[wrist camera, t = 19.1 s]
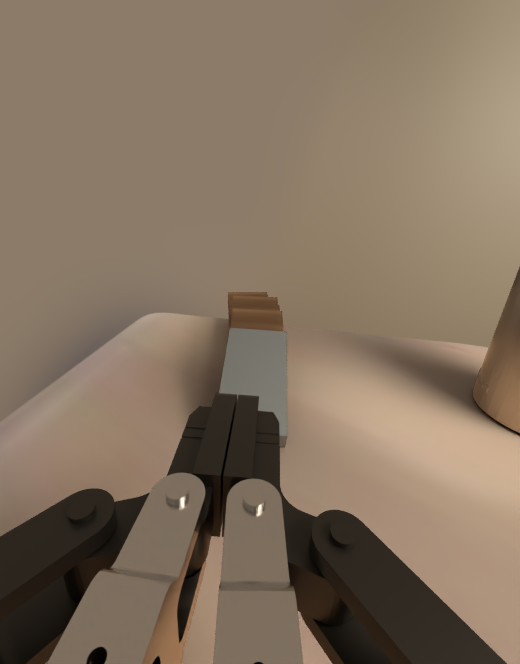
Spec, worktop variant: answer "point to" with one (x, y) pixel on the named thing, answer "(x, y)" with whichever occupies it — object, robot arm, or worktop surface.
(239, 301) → the domino
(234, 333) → the domino
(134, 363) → the worktop surface
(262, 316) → the domino
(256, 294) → the domino
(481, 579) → the worktop surface
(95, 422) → the worktop surface
